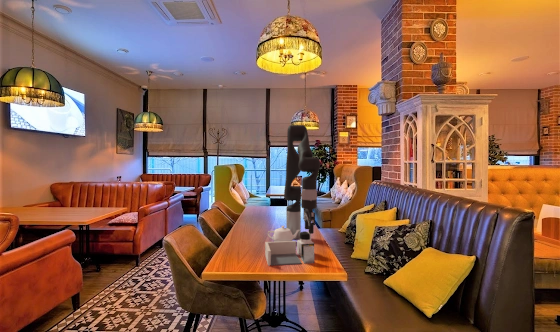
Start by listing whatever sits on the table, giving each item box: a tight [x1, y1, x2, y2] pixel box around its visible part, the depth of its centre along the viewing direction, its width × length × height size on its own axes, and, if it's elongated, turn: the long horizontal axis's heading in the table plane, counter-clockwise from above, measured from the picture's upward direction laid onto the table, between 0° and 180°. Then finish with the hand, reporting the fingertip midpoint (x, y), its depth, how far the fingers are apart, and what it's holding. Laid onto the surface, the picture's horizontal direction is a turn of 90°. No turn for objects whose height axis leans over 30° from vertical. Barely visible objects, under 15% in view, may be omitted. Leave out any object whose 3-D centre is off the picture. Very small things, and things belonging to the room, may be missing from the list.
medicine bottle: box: [296, 231, 315, 257], centre depth 156 cm, size 7×7×12 cm
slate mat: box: [271, 253, 302, 266], centre depth 148 cm, size 14×15×1 cm
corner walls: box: [264, 240, 297, 267], centre depth 149 cm, size 15×16×7 cm
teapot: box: [266, 225, 300, 242], centre depth 179 cm, size 20×12×10 cm, turn 89°
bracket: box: [300, 245, 315, 265], centre depth 147 cm, size 8×5×8 cm, turn 8°
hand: (309, 231), depth 144 cm, fingers open, 8 cm apart
